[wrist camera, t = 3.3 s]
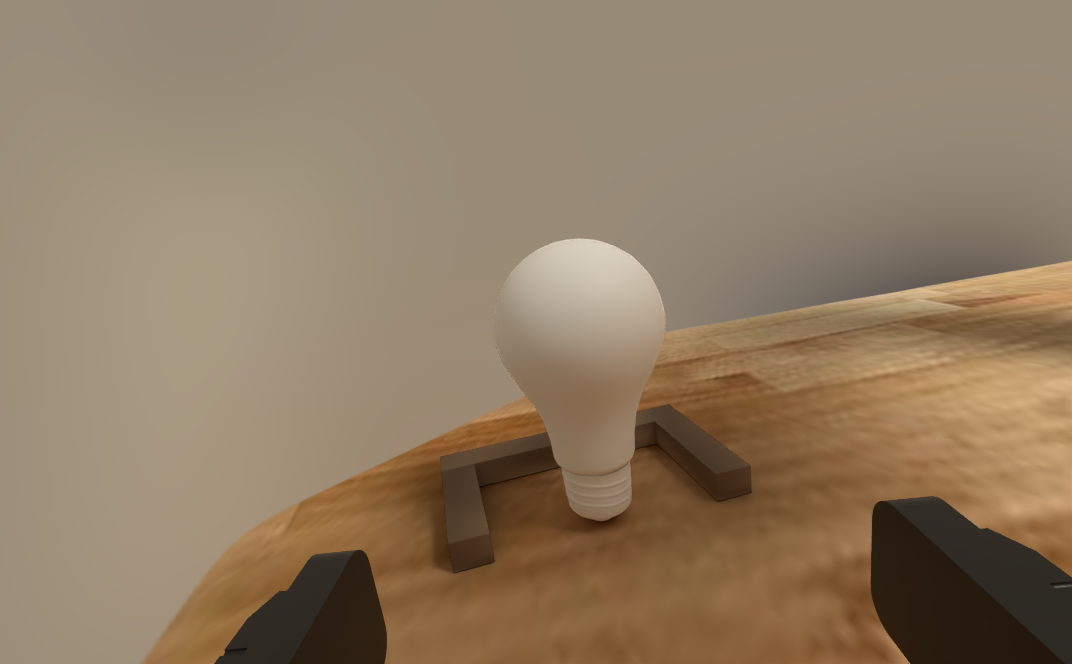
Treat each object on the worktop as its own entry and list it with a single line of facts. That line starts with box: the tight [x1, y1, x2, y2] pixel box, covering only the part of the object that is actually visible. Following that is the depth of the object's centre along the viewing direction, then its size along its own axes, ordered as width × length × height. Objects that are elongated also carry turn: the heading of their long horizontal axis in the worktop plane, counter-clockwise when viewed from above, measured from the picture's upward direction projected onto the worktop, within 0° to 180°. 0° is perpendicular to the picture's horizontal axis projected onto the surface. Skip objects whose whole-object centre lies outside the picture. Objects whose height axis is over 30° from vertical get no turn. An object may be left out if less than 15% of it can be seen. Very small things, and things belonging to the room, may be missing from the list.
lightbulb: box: [494, 239, 666, 521], centre depth 19 cm, size 6×6×11 cm
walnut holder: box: [440, 404, 752, 573], centre depth 23 cm, size 12×7×1 cm, turn 103°
